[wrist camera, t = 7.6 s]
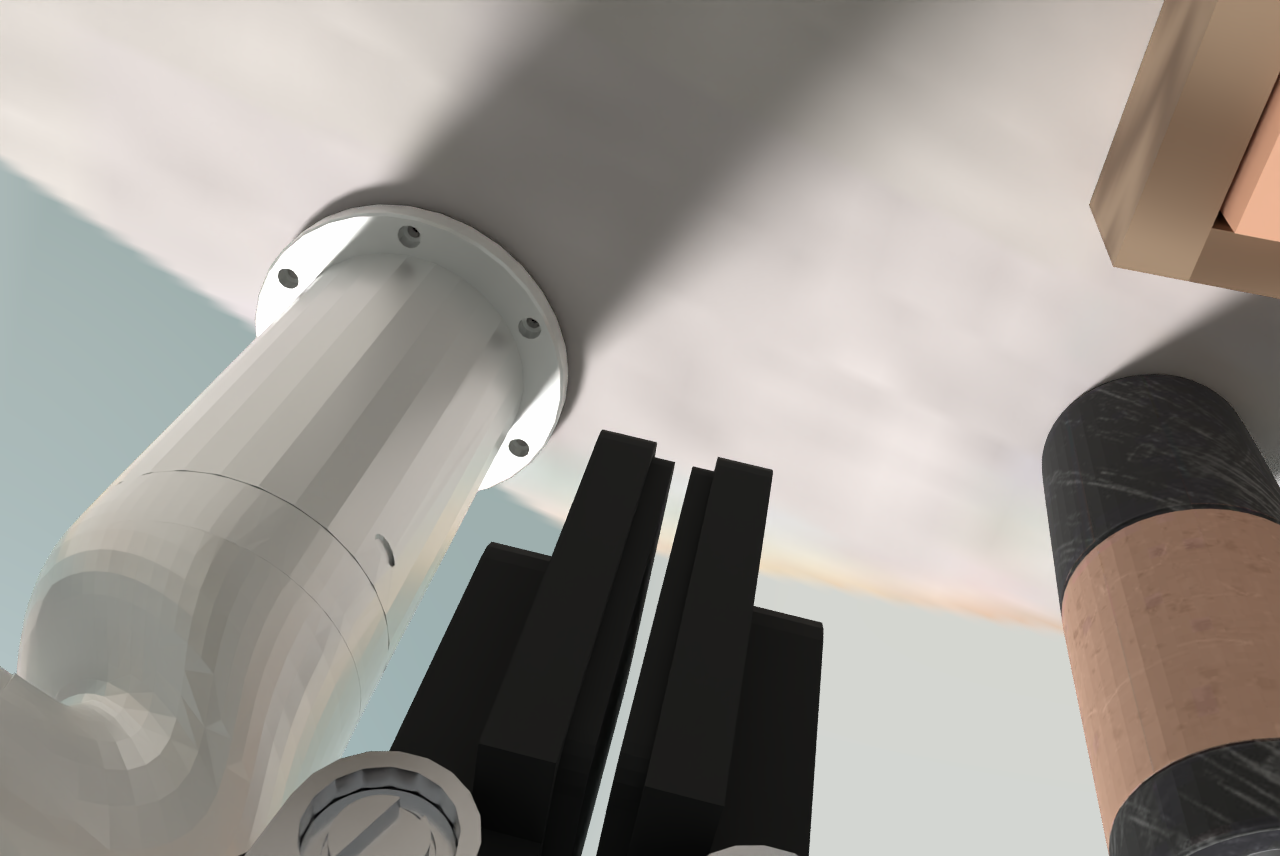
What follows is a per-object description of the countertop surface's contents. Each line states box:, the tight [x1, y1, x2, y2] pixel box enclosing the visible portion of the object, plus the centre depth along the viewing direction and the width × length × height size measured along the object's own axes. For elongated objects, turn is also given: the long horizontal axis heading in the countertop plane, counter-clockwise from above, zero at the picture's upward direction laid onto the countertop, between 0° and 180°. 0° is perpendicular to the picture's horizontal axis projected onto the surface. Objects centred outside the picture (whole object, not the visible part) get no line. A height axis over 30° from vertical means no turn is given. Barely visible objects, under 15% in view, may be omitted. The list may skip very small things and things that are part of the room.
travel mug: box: [1042, 374, 1280, 856], centre depth 35 cm, size 8×8×20 cm
